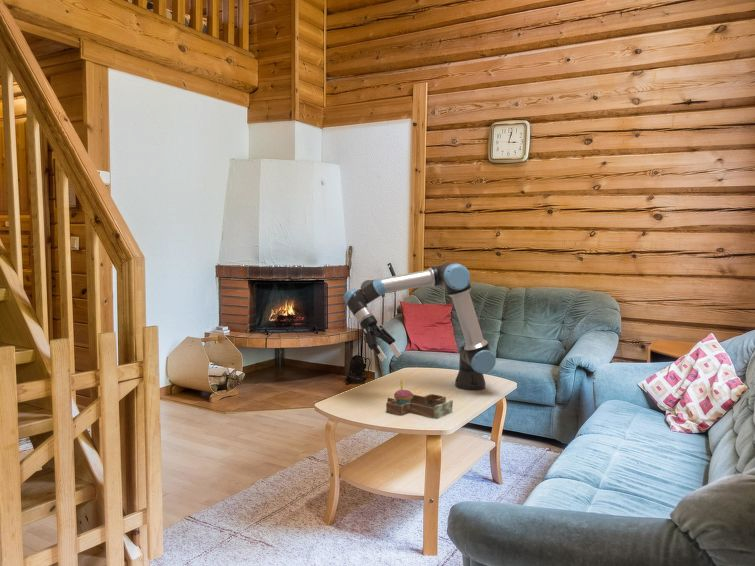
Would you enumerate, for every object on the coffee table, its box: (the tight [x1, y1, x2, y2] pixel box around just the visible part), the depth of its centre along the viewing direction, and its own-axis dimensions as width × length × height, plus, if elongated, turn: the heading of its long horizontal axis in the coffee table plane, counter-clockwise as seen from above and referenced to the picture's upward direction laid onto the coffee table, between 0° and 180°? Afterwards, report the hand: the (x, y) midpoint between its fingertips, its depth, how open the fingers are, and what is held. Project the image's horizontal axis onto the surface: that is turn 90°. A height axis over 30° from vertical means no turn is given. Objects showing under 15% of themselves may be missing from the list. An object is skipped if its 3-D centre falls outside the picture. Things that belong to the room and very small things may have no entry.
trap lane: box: [385, 393, 454, 420], centre depth 257 cm, size 26×25×5 cm
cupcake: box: [393, 379, 414, 406], centre depth 262 cm, size 9×8×12 cm
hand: (391, 357), depth 265 cm, fingers open, 13 cm apart
